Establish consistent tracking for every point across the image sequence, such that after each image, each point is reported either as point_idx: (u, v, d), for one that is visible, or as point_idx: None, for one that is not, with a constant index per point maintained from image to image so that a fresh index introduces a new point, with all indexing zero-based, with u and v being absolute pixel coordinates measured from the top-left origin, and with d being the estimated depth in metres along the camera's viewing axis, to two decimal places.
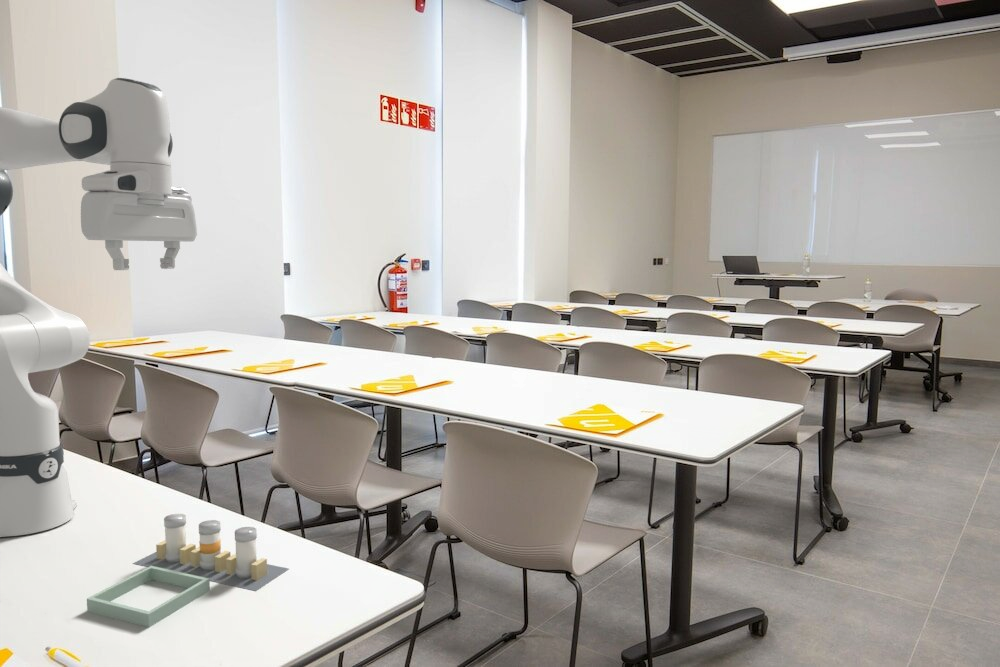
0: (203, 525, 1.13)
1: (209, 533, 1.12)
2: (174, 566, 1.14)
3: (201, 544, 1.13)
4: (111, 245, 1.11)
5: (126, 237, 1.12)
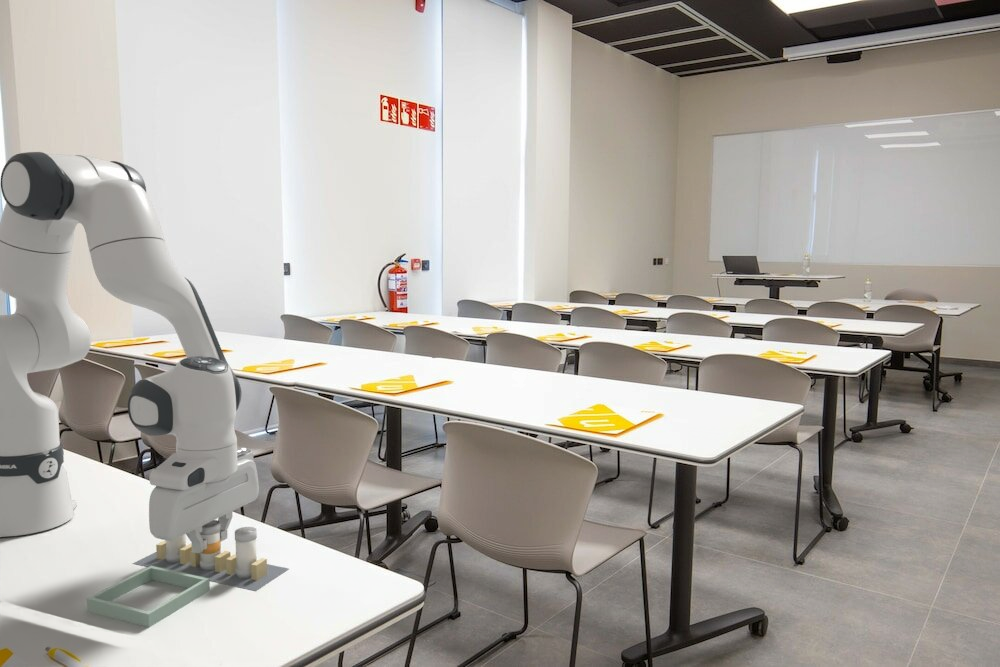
0: (203, 525, 1.13)
1: (209, 533, 1.12)
2: (174, 566, 1.14)
3: None
4: (191, 531, 1.10)
5: (194, 527, 1.08)
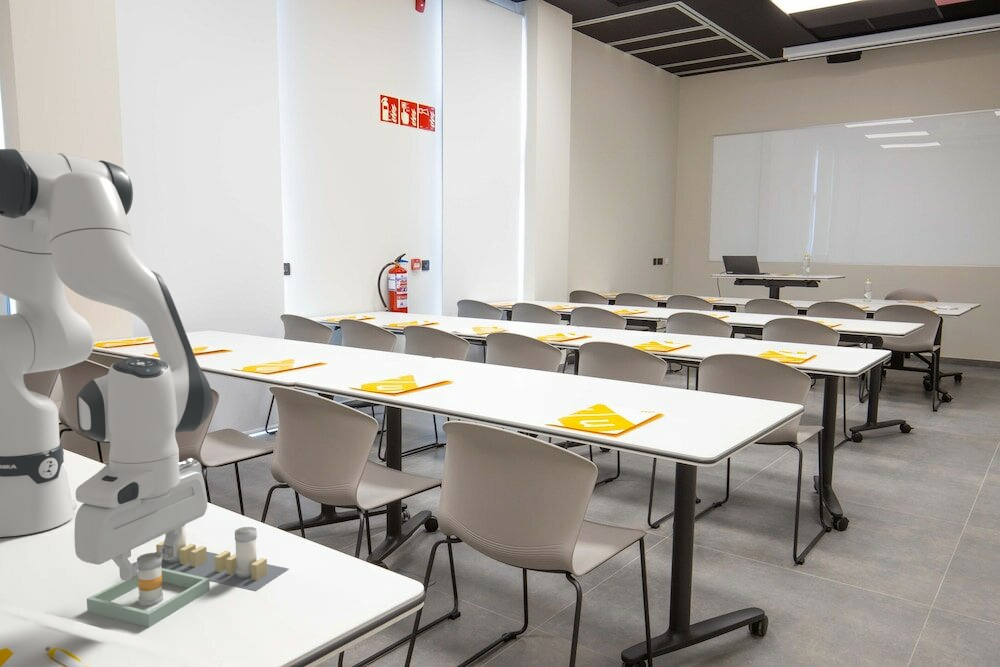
0: (142, 558, 1.02)
1: (148, 568, 1.01)
2: (174, 566, 1.14)
3: (139, 580, 1.02)
4: (118, 556, 0.97)
5: (127, 549, 0.97)
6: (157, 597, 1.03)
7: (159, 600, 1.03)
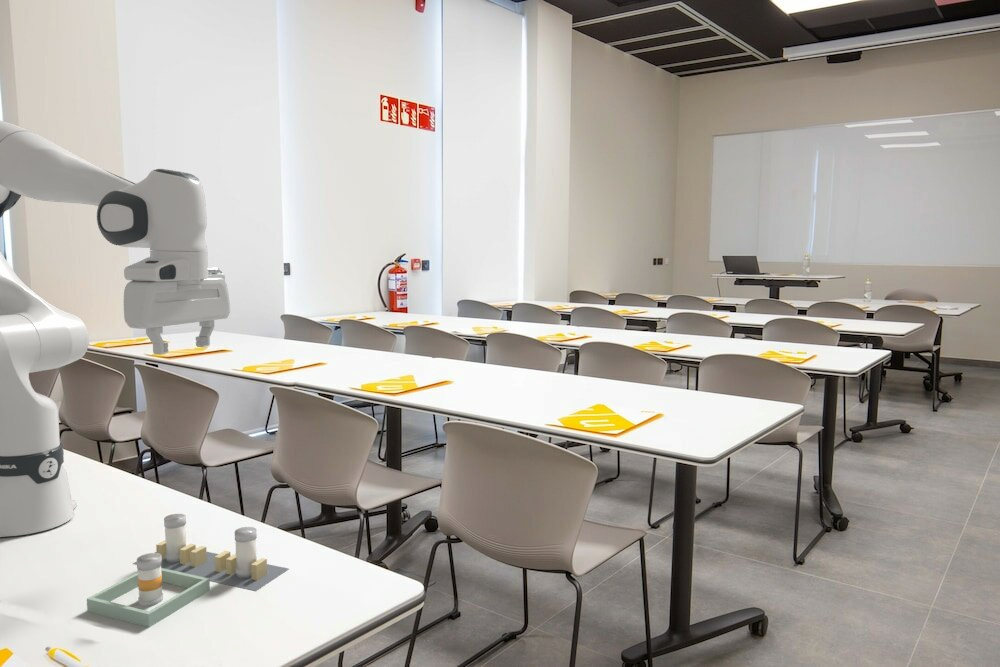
0: (142, 559, 1.02)
1: (148, 569, 1.01)
2: (174, 566, 1.14)
3: (139, 580, 1.02)
4: (152, 331, 1.15)
5: (166, 323, 1.16)
6: (157, 597, 1.03)
7: (159, 600, 1.03)
